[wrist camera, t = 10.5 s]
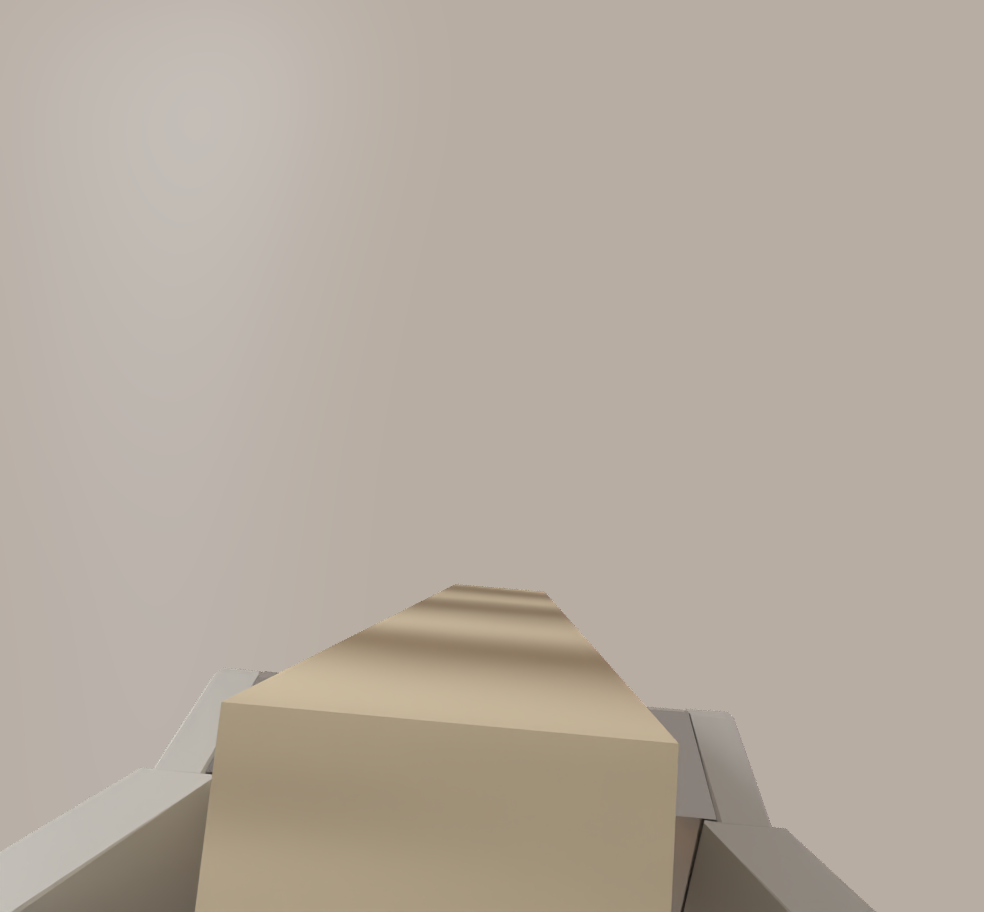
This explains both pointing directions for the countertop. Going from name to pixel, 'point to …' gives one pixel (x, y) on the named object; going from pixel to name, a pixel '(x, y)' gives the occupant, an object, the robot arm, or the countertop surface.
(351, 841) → the bar
